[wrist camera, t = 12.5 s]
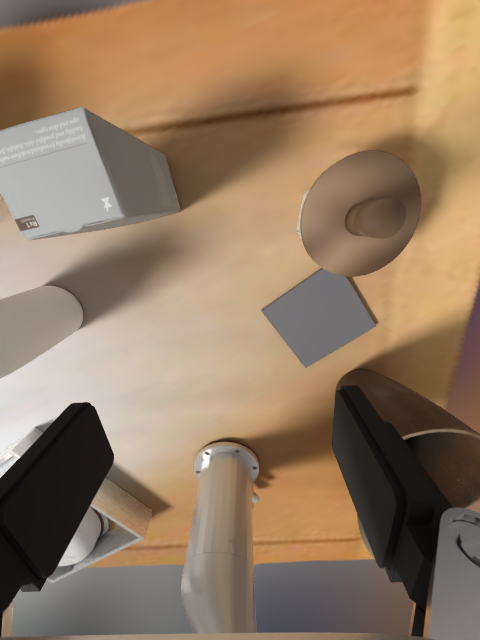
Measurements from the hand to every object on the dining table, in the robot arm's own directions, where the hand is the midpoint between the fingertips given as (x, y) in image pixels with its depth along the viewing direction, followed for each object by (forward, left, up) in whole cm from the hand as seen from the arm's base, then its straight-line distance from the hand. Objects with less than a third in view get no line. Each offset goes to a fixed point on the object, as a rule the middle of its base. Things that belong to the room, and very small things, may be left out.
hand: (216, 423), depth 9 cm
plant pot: (-27, -5, -26) cm, 38 cm away
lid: (-2, -15, -21) cm, 26 cm away
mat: (-12, -6, -26) cm, 30 cm away
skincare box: (+15, +3, -26) cm, 31 cm away
